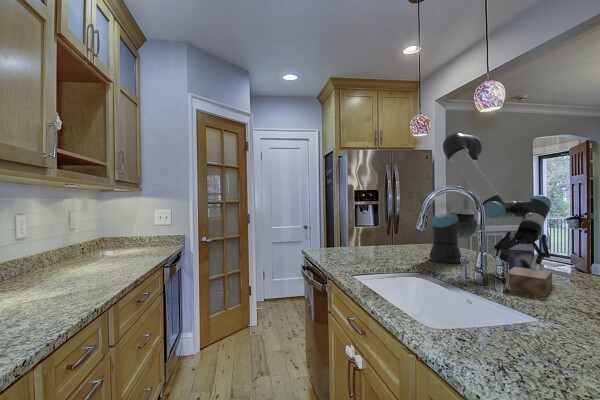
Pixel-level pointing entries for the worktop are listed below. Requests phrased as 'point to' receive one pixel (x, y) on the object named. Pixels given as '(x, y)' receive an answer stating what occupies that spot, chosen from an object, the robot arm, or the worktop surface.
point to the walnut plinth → (530, 280)
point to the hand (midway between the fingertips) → (513, 266)
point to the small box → (517, 258)
